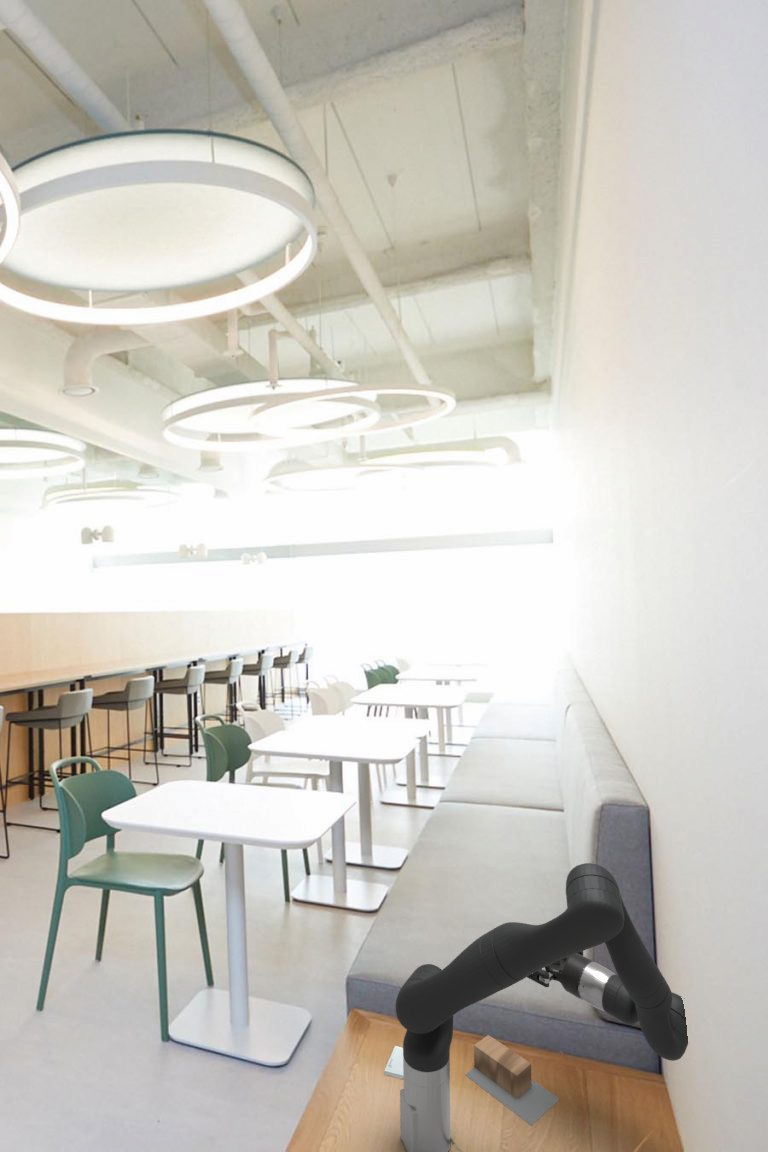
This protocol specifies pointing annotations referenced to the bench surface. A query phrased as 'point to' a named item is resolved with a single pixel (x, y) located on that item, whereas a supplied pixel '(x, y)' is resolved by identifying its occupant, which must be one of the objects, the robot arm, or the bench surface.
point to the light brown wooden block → (502, 1066)
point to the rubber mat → (526, 1105)
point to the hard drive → (395, 1064)
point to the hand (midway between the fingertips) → (525, 946)
